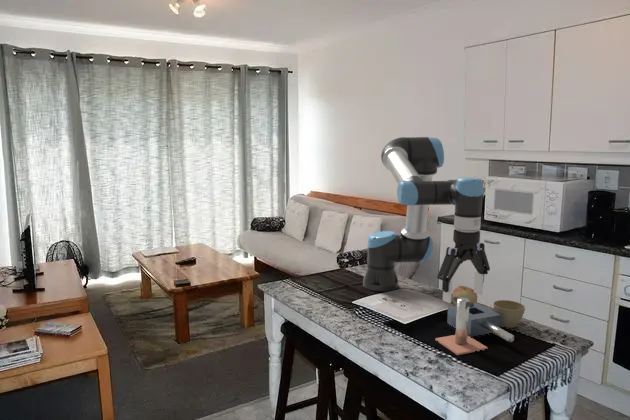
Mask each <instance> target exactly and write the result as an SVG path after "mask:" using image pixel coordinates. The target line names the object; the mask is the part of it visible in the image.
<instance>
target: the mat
mask: <svg viewBox="0 0 630 420" xmlns="http://www.w3.org/2000/svg"><path fill="white" fill-rule="evenodd" d="M434 339H435V342H437V341H438V342H437V343H438V344H440V345H442V346H443V347H445V348H446V349H448V350H449V351H450V352H452V353H454V355H456V356H461V355H465V354H470V353H475V351H477V352H480V350H482V351H486V350H485V349H487V350H488V346H486V345H484V344H482V343H481V342H480V341H477V340H476V339H475V338H474V337H472V338H471V337H469V336H468V339H467V345H458V344H456V343H455V334H452V335H447V336H442V337H441V336H440V337H436V338H434Z"/></svg>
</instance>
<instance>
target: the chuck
mask: <svg viewBox="0 0 630 420" xmlns="http://www.w3.org/2000/svg"><path fill="white" fill-rule="evenodd" d="M456 314H457V306H455V305H453V306H448V307H447V319H446V320H447V322H446V323H448V324H449V325H448V324H447V325H448V326H450V325H451V326H450V327H452V326H453V327H454V329H455V328H456ZM501 326H502V325H501V315H500V314H498V313H496V312H495V311H494V310H492V309H490V308H488V307H486V306H484V305H482V304H480V303H478V302H477V303H474V307H472V308H470V307H469V320H468V336H469V337H472V338H474V337H473V336H477V337H479V336H478V335H482V336H484V335H483V334H488V335H490V334H489V333H493V334H494V335H496V336H498V337H500V338H501V339H503V340H505V341H507V342H509V343H513V342H514V340H515V335H513V334H512V333H509V332H508V331H506V330H504V329H503V328H501ZM453 327H452V328H453Z"/></svg>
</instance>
